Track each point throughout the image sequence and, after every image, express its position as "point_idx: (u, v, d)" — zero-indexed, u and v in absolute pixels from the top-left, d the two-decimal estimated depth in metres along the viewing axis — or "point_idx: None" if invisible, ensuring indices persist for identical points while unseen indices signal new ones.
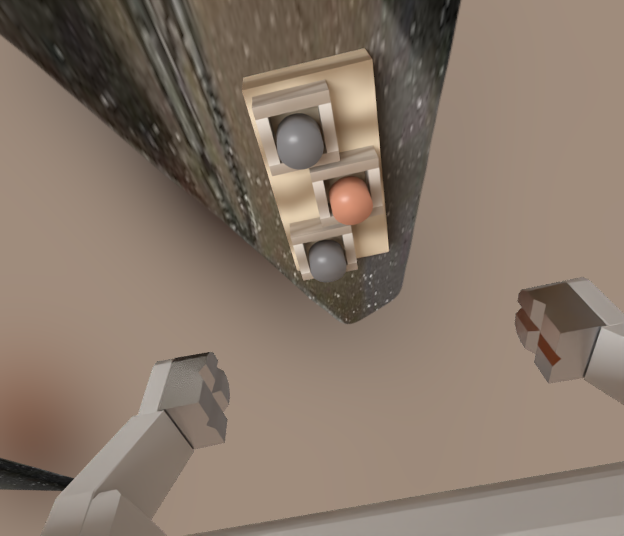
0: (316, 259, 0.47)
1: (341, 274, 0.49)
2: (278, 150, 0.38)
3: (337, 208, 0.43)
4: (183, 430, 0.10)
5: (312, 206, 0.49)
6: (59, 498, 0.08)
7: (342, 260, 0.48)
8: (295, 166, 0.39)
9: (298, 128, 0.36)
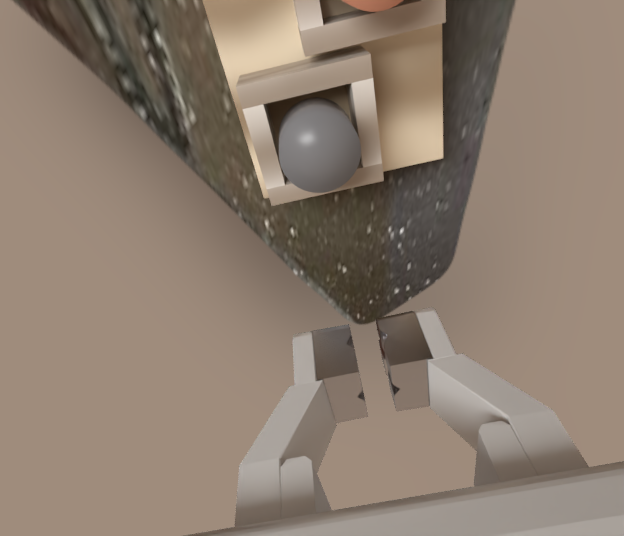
0: (291, 125, 0.20)
1: (349, 172, 0.22)
2: None
3: None
4: (332, 402, 0.09)
5: (286, 28, 0.23)
6: (243, 465, 0.07)
7: (351, 130, 0.21)
8: None
9: None
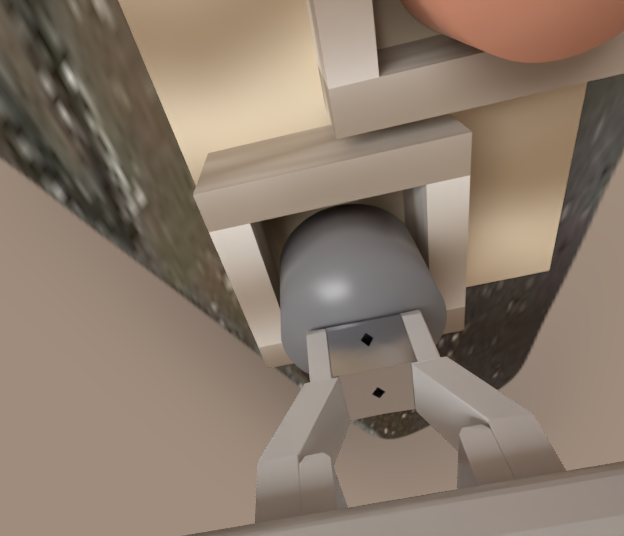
0: (307, 285, 0.10)
1: None
2: None
3: None
4: (347, 399, 0.09)
5: (295, 71, 0.12)
6: (261, 462, 0.07)
7: (432, 291, 0.10)
8: None
9: None
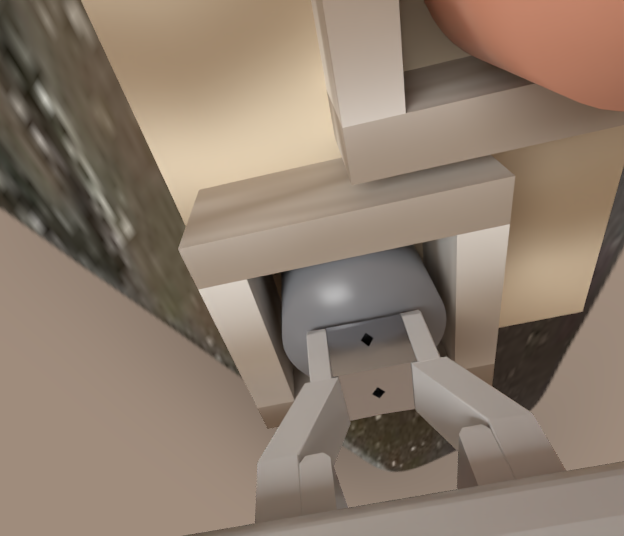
0: (308, 289, 0.10)
1: None
2: None
3: None
4: (347, 399, 0.09)
5: (300, 97, 0.10)
6: (261, 461, 0.07)
7: (432, 295, 0.10)
8: None
9: None
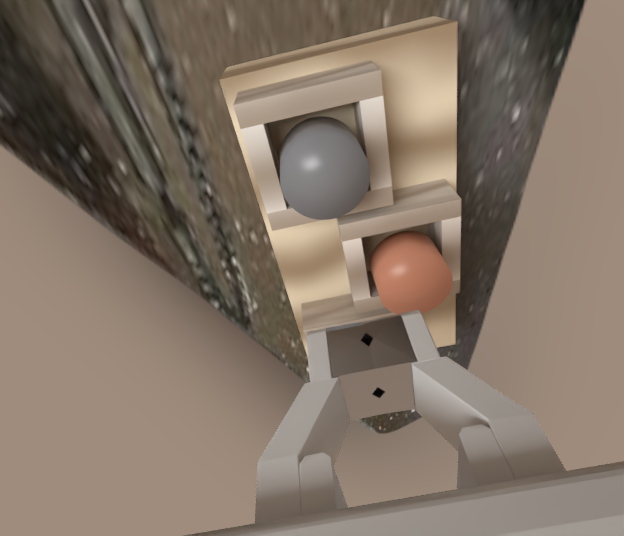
0: None
1: None
2: (282, 183, 0.19)
3: (388, 288, 0.24)
4: (347, 399, 0.09)
5: (338, 277, 0.30)
6: (261, 461, 0.07)
7: None
8: (314, 213, 0.20)
9: (322, 139, 0.18)
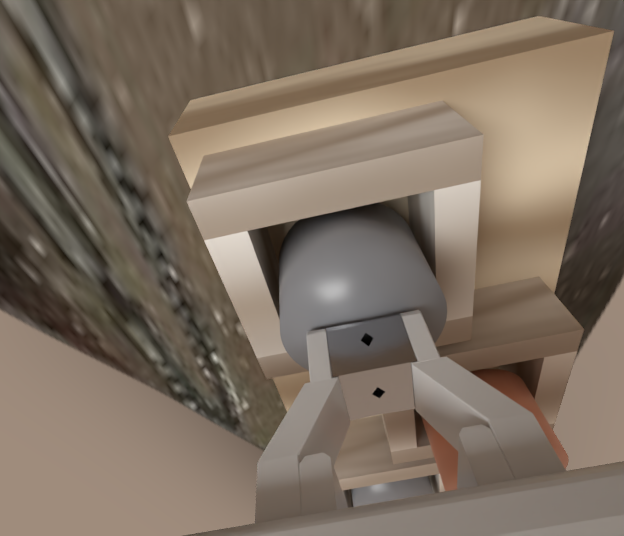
0: (369, 492, 0.21)
1: None
2: (284, 334, 0.10)
3: None
4: (347, 399, 0.09)
5: None
6: (261, 461, 0.07)
7: (428, 492, 0.21)
8: None
9: (362, 267, 0.09)
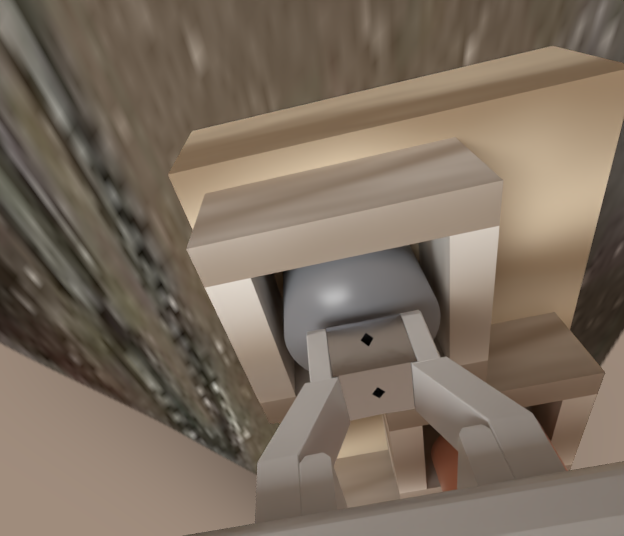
0: None
1: None
2: (288, 337, 0.11)
3: None
4: (347, 399, 0.09)
5: (371, 433, 0.20)
6: (261, 461, 0.07)
7: None
8: None
9: (360, 274, 0.10)
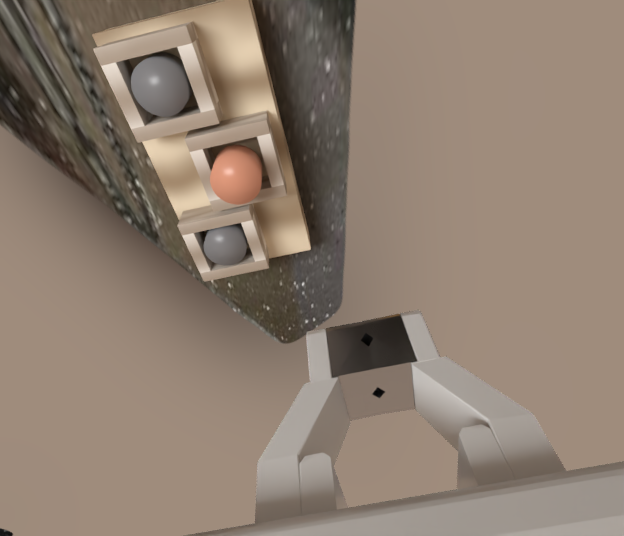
0: (208, 235, 0.41)
1: (241, 255, 0.43)
2: (133, 90, 0.32)
3: (216, 181, 0.34)
4: (347, 399, 0.09)
5: None
6: (261, 461, 0.07)
7: (239, 237, 0.41)
8: (158, 112, 0.33)
9: (151, 61, 0.31)
